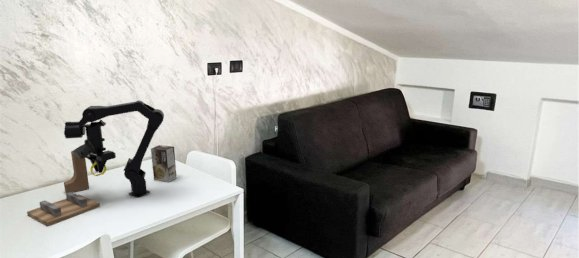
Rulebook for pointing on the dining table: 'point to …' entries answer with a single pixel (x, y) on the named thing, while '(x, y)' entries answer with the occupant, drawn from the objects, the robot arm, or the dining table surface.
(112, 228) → the dining table surface
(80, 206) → the cradle
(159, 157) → the coffee box
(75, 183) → the wooden block
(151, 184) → the dining table surface
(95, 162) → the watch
